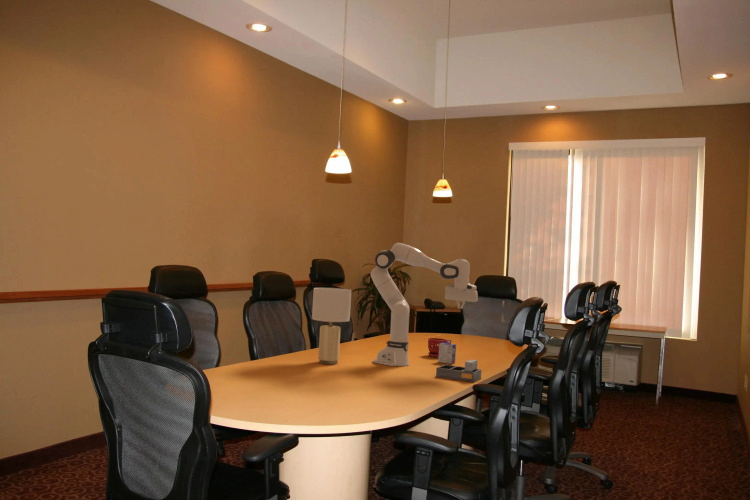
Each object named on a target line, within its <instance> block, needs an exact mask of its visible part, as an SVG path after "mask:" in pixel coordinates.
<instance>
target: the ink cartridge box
mask: <svg viewBox="0 0 750 500" xmlns="http://www.w3.org/2000/svg"><path fill="white" fill-rule="evenodd" d="M447 341H448V342H447ZM456 354H457V344H454V343H452V339H451V340H450V339H446V343H440V344H439V357H437V359H438V360H437V362H438V363H444V364H447V365H453V364H454V365H455V364H456V356H457V355H456Z"/></svg>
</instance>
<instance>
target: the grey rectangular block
mask: <svg viewBox="0 0 750 500" xmlns="http://www.w3.org/2000/svg"><path fill="white" fill-rule="evenodd" d="M464 367H465V372H471V373H473V372H475V371H477V369H478V360H477V359H468V360H466V361H465V362H464Z"/></svg>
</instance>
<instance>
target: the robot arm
mask: <svg viewBox="0 0 750 500" xmlns="http://www.w3.org/2000/svg"><path fill="white" fill-rule="evenodd" d="M395 261H398V262H401V263H404V264H406V265H409V266H413V267H421V268H423V267H424V268H427V269H429V270H432V271H434V272H436V273H439V275H440V276H441V277H442V278H443V279H445V280H452V279H454V284H446V286H445V289H444V290H445V293H444V300H446V301H456V305H457V309H461V310H463V309H464V306H465V304H466V302H468V303H469V302H470V303H471V302H472V303H476V302H478V301H479V295H478V294H479V293H478V291H477V285H474V284H473V283H470V275H471V274H470V273H471V265H470V262H469V261H468V260H467V259H463V258H456V260H453V261H451V262H445V263H444V262H440V261H438V260H436V259H433V258H431V257H429V256H427V255H426V254H425V253H424V252H422V251H421V250H419V249H418V248H416V247H414V246H412V245H409V244H405V243H402V242H396V243H394V244H393V245H392V247H391V249H390V250H388V249H384V250H380V251H379V252H378V253H377V254H376V255H375V257H374V262H375V265H376V266H375V267H374V268H372V270H371V271H370V277H371V279H372V281H373V284H374V286H375V288H376V289H377V291H378V292H379V294H380V295H381V298H382V300H384V302H385V303H386V305H387V306H388V307H389V309H390V311H391V312H390V333H389V336H390V337H389V340H387V341H386V343H385V344H386V346H385V347H384V348H382V349H381V350H379V351H378V352H377V356H376V358H374V359H373V360H372V363H376V364H380V365H384V366H390V367H396V366H397V367H406V366H409V365H410V363H409V353H408V350H409V326H410V312H411V311H410V310H411V309H410V305H409V303H408V302H407V300H406V298H405V297H404V296H403V294H402V293H401V291H400V290H399V287H398V286H397V285H396V282H395V281H394V279H393V278H392V276H391V275H390V273H389V269H390V268H391V267H392V265H394V264H395V263H394V262H395ZM460 302H461V303H462V304H461V305H460Z"/></svg>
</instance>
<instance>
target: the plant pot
mask: <svg viewBox="0 0 750 500" xmlns="http://www.w3.org/2000/svg"><path fill="white" fill-rule="evenodd" d="M427 340H428V341H427V347H428V348H427V349H428V351H429V352H427V353H428V355H429V356H430V357H434V358H439V344H440V343H446V340H447V339H446V338H439V337H429V338H428V339H427ZM447 342H449V341H447Z"/></svg>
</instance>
